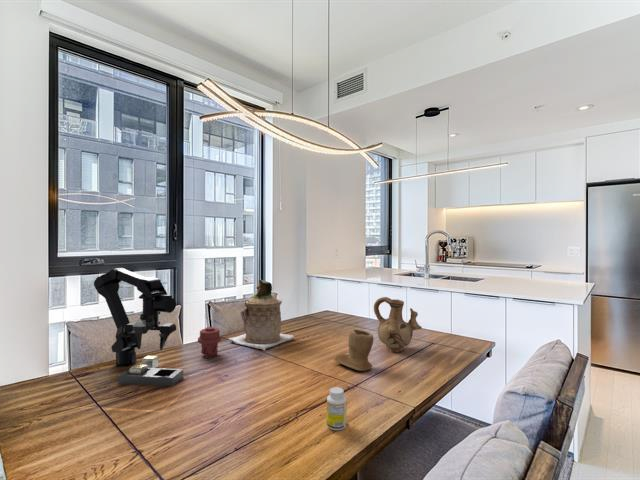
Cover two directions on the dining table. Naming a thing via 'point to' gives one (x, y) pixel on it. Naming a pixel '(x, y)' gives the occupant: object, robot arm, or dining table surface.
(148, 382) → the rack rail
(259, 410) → the dining table surface
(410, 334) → the ceramic vessel
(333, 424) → the supplement bottle
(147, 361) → the cream two-tone block
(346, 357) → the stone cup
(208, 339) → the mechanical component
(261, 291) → the cookie jar
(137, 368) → the beige block
